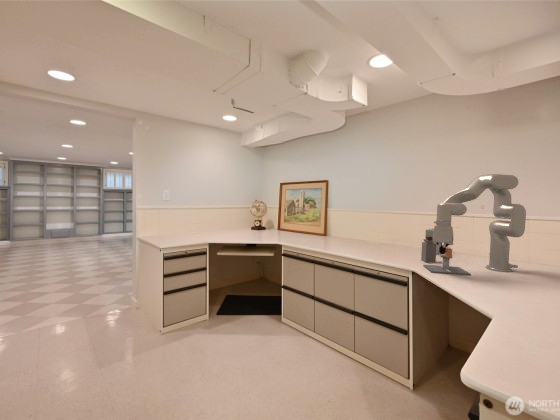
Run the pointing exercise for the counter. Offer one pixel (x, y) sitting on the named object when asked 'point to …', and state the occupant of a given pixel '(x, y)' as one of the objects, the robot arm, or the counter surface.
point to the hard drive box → (430, 233)
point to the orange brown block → (447, 253)
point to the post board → (453, 271)
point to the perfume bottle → (428, 250)
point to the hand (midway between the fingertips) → (442, 253)
